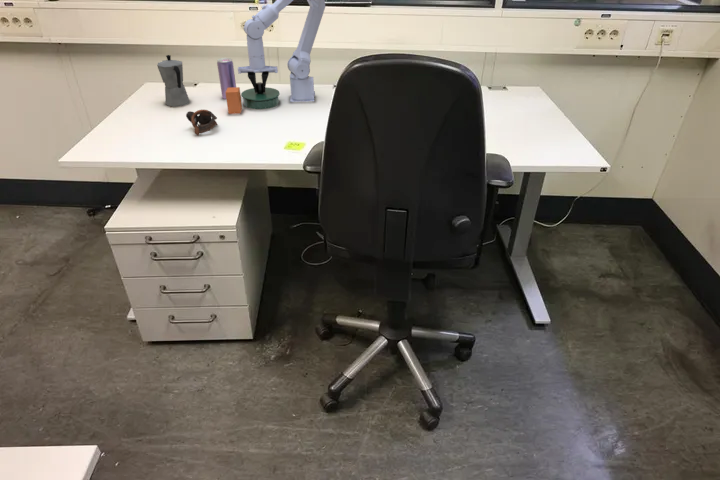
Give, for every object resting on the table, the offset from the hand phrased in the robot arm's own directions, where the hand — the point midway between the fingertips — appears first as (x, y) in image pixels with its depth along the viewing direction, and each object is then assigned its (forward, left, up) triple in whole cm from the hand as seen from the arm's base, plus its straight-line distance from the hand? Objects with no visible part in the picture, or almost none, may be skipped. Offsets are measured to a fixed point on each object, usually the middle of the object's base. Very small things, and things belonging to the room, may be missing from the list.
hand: (260, 91), depth 191 cm
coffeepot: (+32, -3, -5) cm, 33 cm away
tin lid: (0, 0, -1) cm, 1 cm away
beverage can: (+13, -8, -5) cm, 16 cm away
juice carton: (+9, +8, -5) cm, 13 cm away
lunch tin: (0, 0, -5) cm, 5 cm away
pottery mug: (+18, +25, -5) cm, 31 cm away
